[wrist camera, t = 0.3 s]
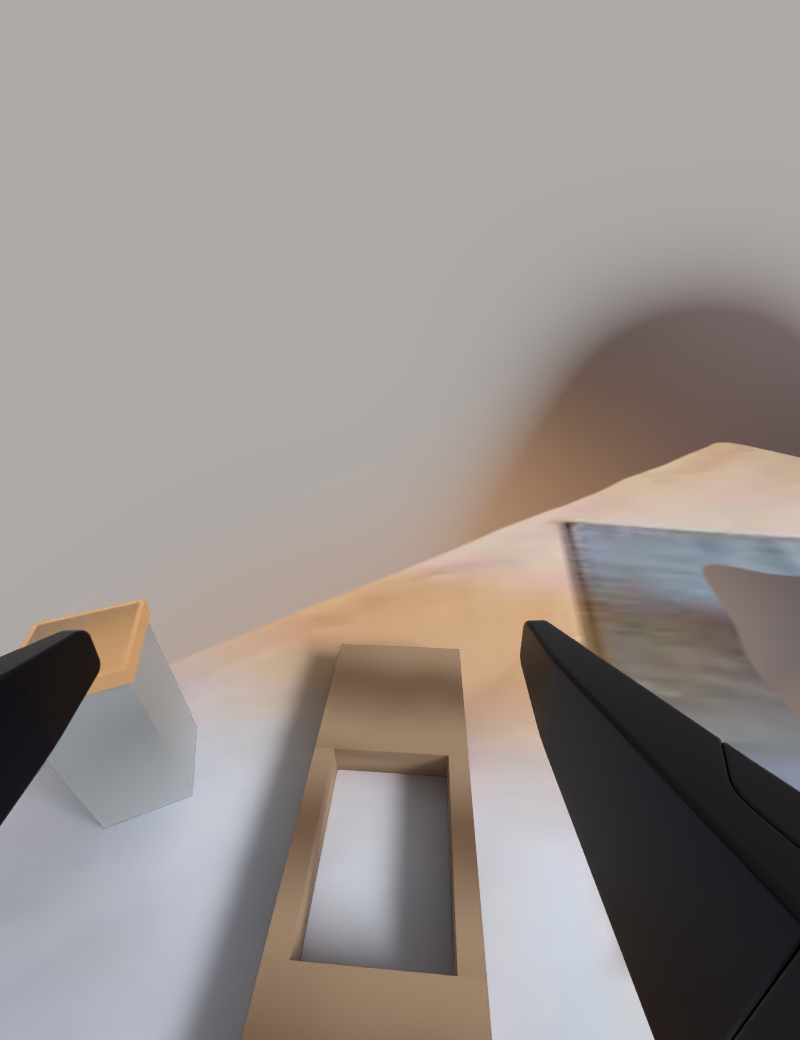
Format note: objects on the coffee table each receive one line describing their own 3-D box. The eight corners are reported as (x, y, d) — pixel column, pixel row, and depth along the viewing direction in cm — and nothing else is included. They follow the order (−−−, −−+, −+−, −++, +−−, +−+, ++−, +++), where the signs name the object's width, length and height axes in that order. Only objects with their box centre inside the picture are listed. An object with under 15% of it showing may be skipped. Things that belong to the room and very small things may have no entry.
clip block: (196, 797, 20) (126, 669, 15) (97, 835, 19) (-15, 707, 14) (200, 723, 24) (145, 598, 19) (118, 749, 22) (34, 623, 17)
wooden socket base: (519, 1495, 8) (533, 1536, 7) (165, 1432, 9) (133, 1463, 8) (457, 669, 27) (459, 649, 26) (343, 663, 27) (341, 644, 26)
